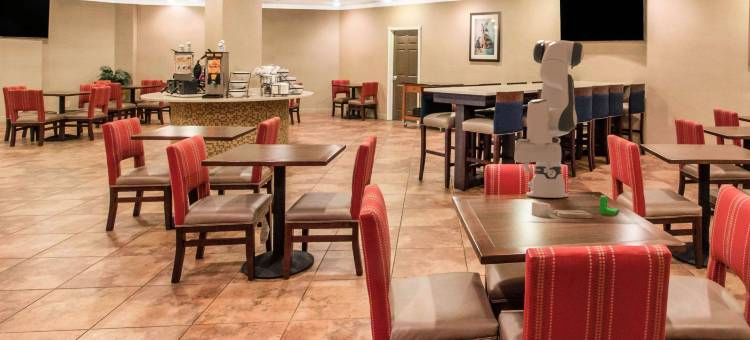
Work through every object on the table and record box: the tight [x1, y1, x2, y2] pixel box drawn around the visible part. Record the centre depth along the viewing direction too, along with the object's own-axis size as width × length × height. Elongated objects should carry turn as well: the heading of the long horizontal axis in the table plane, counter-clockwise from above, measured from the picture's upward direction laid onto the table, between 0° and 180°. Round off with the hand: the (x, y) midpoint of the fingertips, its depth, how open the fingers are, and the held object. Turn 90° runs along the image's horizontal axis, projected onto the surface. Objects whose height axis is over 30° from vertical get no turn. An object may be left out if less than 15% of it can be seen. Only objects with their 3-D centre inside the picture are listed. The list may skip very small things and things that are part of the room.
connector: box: [531, 201, 555, 218], centre depth 248 cm, size 12×4×5 cm, turn 17°
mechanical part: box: [599, 194, 620, 216], centre depth 258 cm, size 12×6×8 cm, turn 149°
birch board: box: [553, 209, 594, 219], centre depth 250 cm, size 14×12×2 cm
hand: (537, 173), depth 250 cm, fingers open, 7 cm apart
